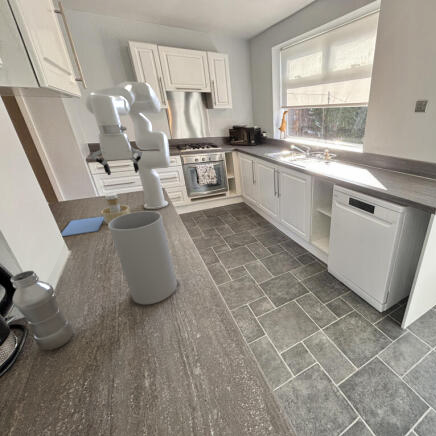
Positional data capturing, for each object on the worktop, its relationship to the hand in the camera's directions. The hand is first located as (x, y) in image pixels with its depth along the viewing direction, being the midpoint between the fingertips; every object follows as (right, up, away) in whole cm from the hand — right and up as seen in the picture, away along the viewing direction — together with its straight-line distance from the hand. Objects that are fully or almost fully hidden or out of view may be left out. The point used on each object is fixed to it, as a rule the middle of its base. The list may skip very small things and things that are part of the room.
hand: (123, 173), depth 101 cm
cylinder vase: (+28, -42, -25) cm, 57 cm away
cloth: (-30, -23, +15) cm, 41 cm away
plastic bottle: (+14, -50, -42) cm, 66 cm away
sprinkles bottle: (-18, -20, +22) cm, 34 cm away
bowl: (-18, -20, +22) cm, 35 cm away
